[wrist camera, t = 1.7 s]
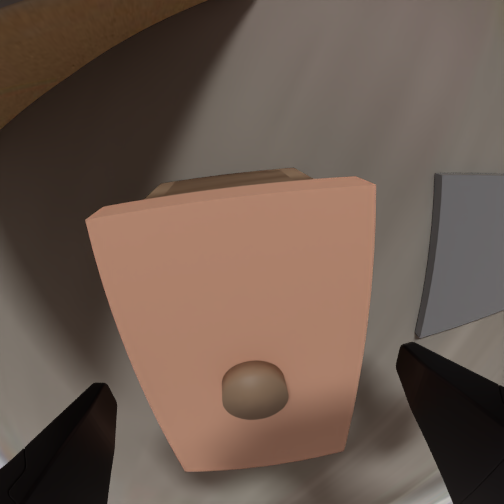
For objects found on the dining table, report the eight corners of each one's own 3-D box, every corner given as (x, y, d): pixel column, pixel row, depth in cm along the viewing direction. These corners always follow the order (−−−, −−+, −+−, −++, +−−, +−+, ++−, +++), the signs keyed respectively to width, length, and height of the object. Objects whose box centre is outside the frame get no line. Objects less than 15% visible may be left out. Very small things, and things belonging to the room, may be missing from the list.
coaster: (532, 175, 13) (538, 177, 12) (509, 301, 16) (514, 305, 16) (434, 173, 13) (442, 175, 12) (414, 332, 16) (419, 338, 15)
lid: (112, 200, 8) (72, 229, 6) (344, 171, 9) (390, 191, 6) (187, 436, 12) (184, 485, 10) (331, 417, 13) (348, 463, 10)
